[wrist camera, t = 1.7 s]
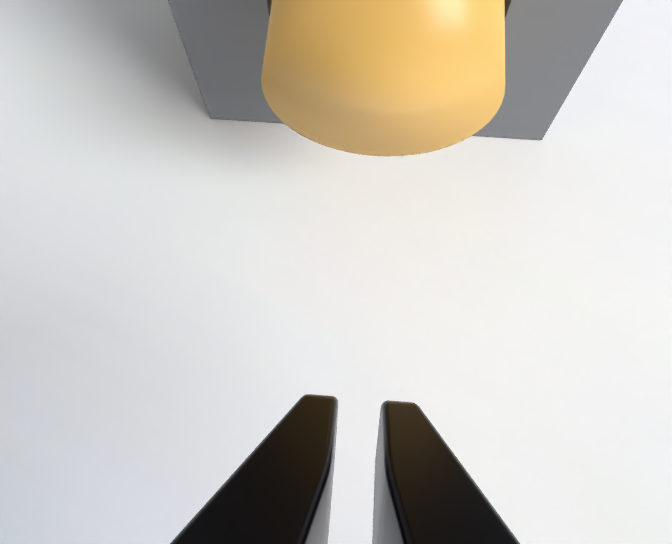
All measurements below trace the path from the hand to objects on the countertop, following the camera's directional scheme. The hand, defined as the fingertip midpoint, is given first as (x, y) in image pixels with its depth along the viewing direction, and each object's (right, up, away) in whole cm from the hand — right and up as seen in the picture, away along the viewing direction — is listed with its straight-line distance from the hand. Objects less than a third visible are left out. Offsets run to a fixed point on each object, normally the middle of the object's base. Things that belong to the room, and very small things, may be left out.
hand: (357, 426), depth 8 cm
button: (+1, +8, +12) cm, 14 cm away
